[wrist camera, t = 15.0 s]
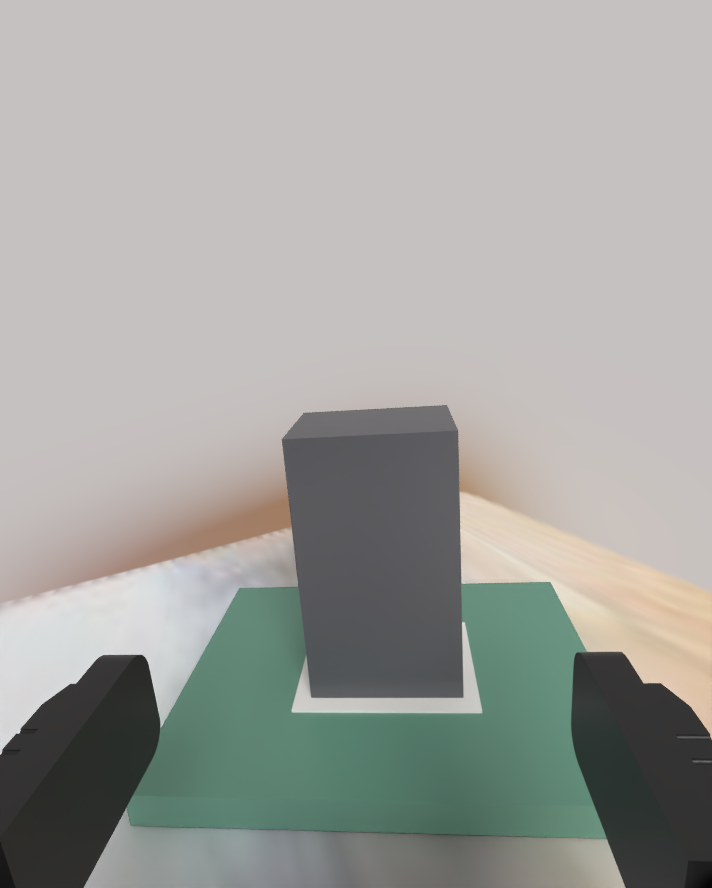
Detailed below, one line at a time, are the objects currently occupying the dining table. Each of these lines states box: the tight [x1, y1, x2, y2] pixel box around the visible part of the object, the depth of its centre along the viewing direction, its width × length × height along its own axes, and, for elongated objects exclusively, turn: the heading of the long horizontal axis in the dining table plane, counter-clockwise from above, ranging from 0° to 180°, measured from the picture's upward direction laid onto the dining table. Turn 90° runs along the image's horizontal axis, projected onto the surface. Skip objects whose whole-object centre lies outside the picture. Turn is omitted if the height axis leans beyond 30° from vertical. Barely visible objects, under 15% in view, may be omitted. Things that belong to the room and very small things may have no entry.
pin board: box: [127, 582, 607, 839], centre depth 21 cm, size 16×12×4 cm
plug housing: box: [282, 405, 464, 698], centre depth 20 cm, size 6×4×10 cm
